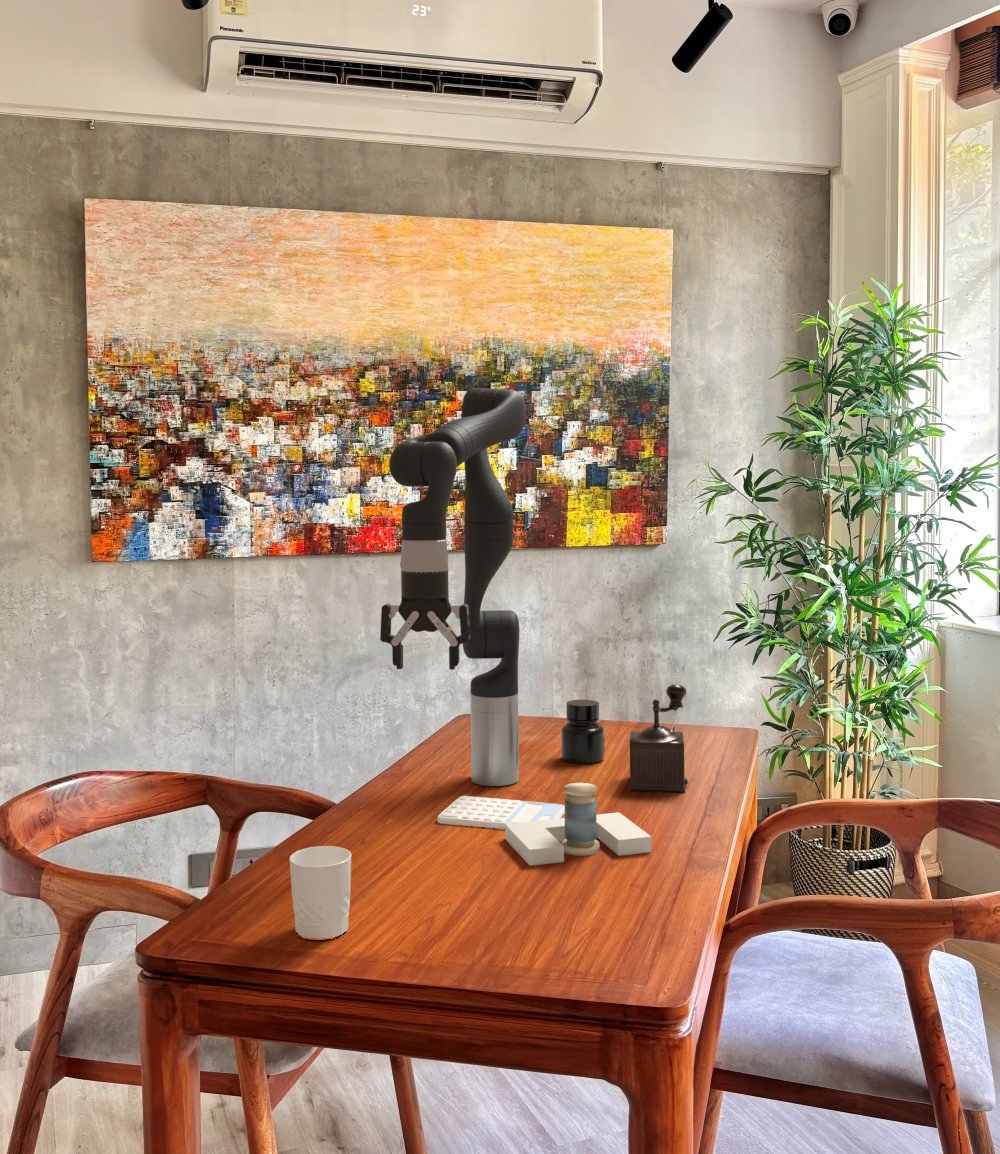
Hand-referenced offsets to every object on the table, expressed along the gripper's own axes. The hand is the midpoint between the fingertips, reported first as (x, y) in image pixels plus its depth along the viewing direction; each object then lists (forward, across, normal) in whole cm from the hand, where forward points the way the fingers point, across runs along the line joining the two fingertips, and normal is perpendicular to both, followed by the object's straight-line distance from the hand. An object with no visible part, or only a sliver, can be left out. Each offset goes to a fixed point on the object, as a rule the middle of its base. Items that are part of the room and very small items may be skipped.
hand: (425, 668), depth 173 cm
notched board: (+28, -24, +1) cm, 37 cm away
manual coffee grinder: (+28, -39, -37) cm, 61 cm away
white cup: (+28, +8, +37) cm, 47 cm away
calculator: (+29, -11, -13) cm, 34 cm away
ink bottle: (+28, -24, -53) cm, 64 cm away
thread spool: (+28, -25, +3) cm, 38 cm away
